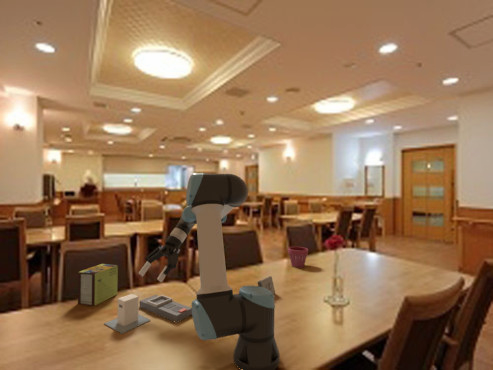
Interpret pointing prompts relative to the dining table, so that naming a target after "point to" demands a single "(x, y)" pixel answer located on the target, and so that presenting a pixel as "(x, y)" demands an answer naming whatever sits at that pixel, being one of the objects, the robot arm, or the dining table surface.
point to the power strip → (166, 307)
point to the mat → (123, 329)
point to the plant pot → (298, 256)
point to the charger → (127, 309)
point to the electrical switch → (267, 284)
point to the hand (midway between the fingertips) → (149, 277)
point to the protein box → (97, 284)
